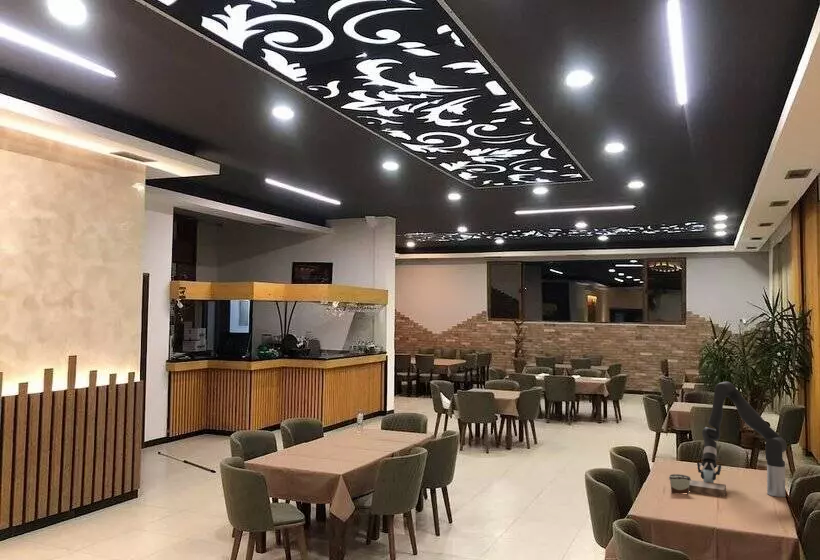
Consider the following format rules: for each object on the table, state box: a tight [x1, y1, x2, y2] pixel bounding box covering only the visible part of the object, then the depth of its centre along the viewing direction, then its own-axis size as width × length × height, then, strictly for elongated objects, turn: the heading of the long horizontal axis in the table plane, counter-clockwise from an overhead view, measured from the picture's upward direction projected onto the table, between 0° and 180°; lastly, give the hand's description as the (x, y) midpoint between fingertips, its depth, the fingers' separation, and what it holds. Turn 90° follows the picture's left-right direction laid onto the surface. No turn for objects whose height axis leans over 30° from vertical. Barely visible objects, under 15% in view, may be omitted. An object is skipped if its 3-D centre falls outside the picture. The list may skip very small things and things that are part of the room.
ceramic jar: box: [702, 469, 715, 483], centre depth 390 cm, size 6×6×9 cm
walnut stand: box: [689, 479, 727, 498], centre depth 380 cm, size 20×14×4 cm
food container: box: [668, 473, 692, 495], centre depth 376 cm, size 12×6×10 cm, turn 84°
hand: (708, 478), depth 389 cm, fingers closed on ceramic jar, 5 cm apart
